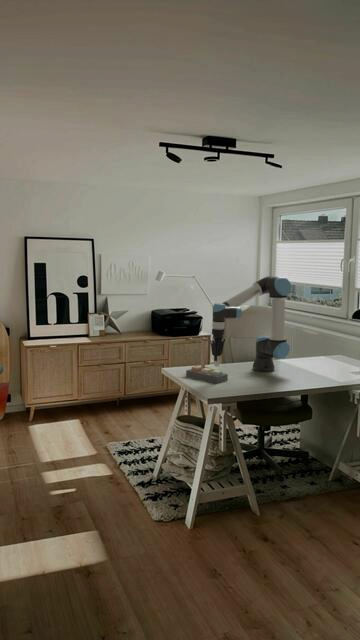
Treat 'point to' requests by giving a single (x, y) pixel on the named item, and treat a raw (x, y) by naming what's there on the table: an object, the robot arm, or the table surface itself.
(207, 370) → the sand key
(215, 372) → the sage key
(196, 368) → the terracotta key
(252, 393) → the table surface
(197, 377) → the keypad
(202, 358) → the headphone stand
